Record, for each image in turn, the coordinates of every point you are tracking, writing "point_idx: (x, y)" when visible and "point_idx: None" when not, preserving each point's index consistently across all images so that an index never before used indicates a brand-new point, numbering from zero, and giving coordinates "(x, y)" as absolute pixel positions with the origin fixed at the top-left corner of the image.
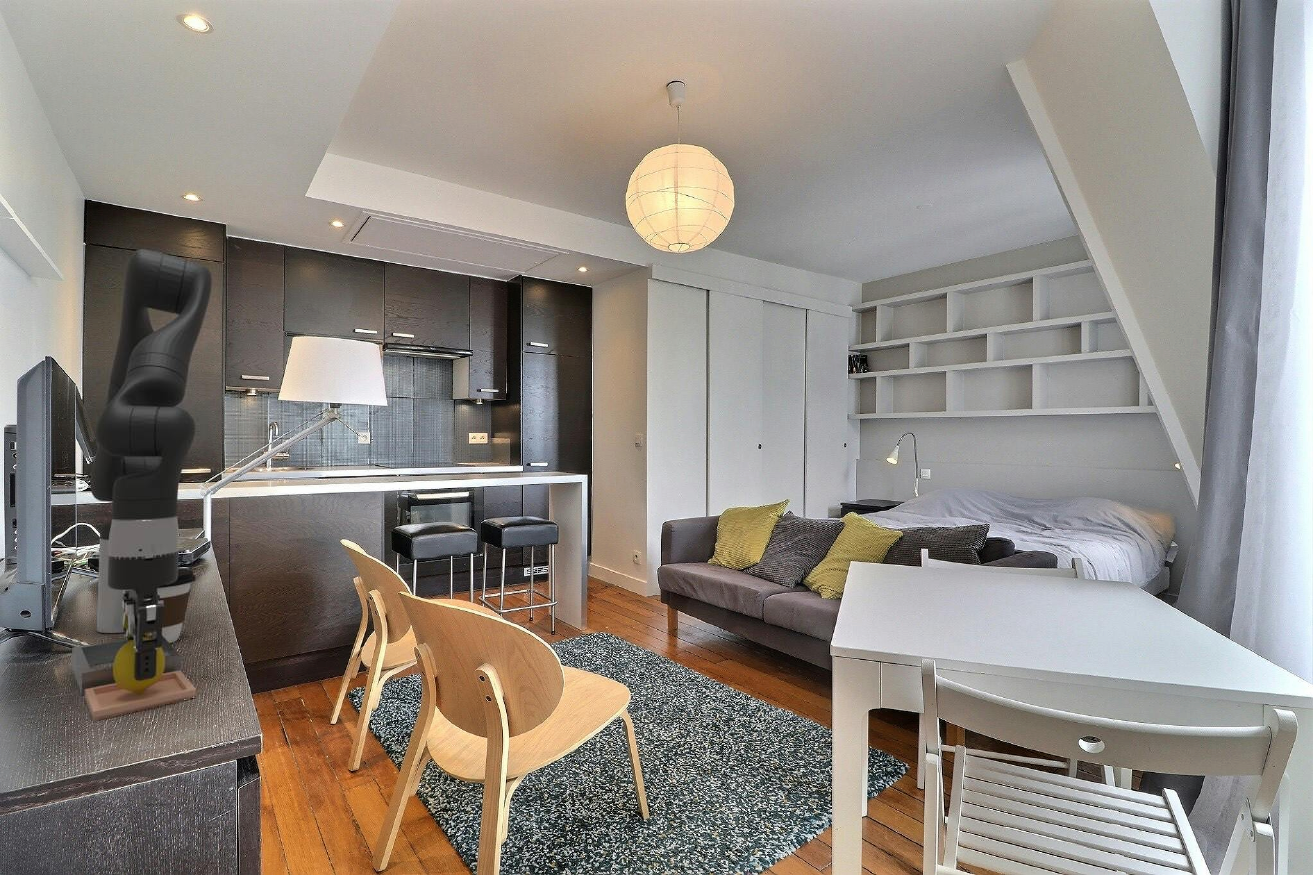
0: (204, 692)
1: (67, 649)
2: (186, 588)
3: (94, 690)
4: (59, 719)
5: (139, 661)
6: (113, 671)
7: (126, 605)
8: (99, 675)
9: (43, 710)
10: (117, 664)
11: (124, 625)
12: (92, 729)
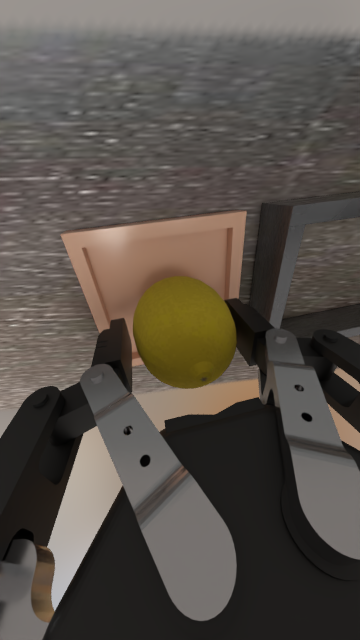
0: (137, 366)
1: None
2: None
3: (230, 229)
4: (120, 162)
5: (105, 352)
6: (173, 282)
7: (173, 592)
8: (278, 239)
9: (214, 123)
10: (158, 300)
11: (275, 370)
12: (11, 231)
